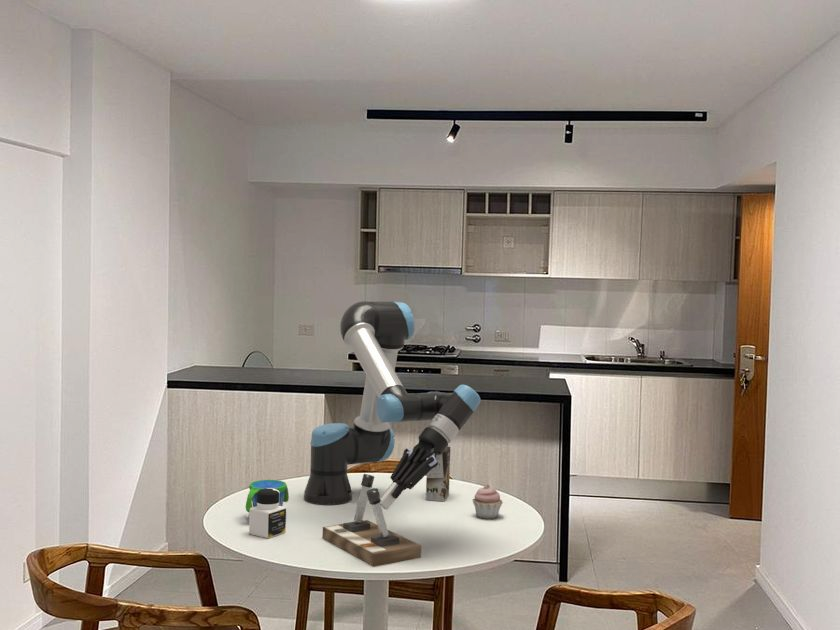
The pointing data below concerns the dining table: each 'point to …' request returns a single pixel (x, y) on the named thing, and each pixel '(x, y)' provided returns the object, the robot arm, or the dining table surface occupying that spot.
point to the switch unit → (371, 543)
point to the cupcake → (487, 502)
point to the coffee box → (439, 478)
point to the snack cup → (264, 484)
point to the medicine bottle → (267, 515)
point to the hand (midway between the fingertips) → (382, 506)
